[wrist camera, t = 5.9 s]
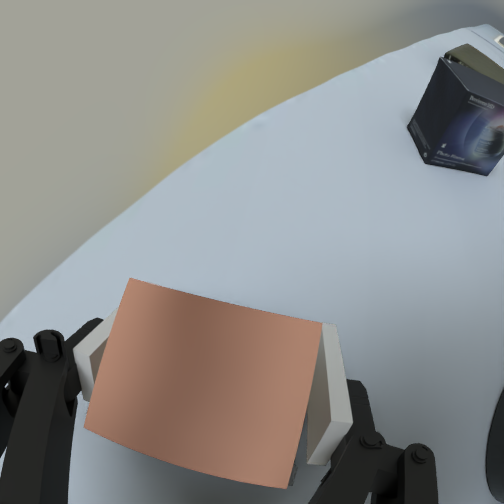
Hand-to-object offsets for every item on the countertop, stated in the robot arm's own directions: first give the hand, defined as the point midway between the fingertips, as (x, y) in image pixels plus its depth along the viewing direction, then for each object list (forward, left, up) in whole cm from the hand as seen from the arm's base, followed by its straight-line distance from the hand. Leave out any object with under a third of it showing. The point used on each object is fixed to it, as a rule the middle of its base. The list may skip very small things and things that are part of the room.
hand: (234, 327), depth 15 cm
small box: (-19, -25, -4) cm, 31 cm away
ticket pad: (0, +3, -4) cm, 5 cm away
